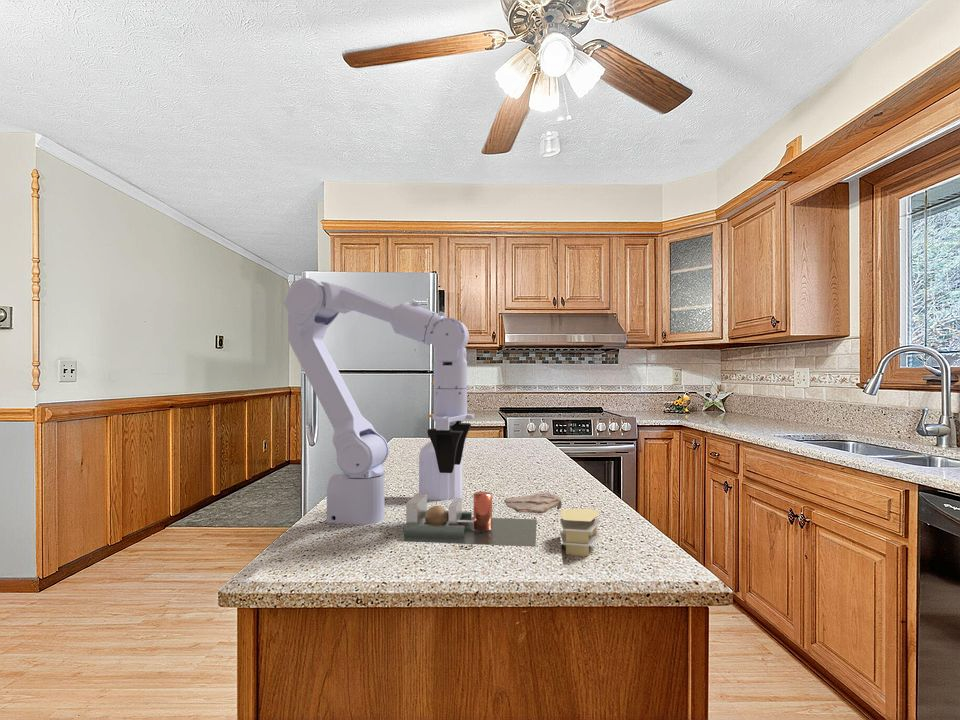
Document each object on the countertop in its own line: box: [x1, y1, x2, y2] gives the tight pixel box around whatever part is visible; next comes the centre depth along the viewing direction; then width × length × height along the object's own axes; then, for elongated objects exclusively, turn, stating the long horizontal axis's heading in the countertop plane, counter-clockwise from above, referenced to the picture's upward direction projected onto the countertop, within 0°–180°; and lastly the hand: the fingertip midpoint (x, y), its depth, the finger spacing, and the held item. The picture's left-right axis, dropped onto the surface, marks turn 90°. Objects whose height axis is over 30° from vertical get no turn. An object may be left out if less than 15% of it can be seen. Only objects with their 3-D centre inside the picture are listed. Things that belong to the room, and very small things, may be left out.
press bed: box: [396, 492, 538, 548], centre depth 86 cm, size 21×14×6 cm, turn 83°
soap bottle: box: [418, 381, 463, 501], centre depth 110 cm, size 9×9×25 cm
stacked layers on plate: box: [560, 508, 600, 557], centre depth 80 cm, size 10×9×6 cm
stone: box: [504, 492, 563, 514], centre depth 101 cm, size 11×12×3 cm
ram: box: [448, 491, 493, 531], centre depth 86 cm, size 7×6×6 cm
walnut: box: [425, 505, 447, 525], centre depth 86 cm, size 4×4×4 cm
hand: (450, 468), depth 90 cm, fingers open, 7 cm apart
